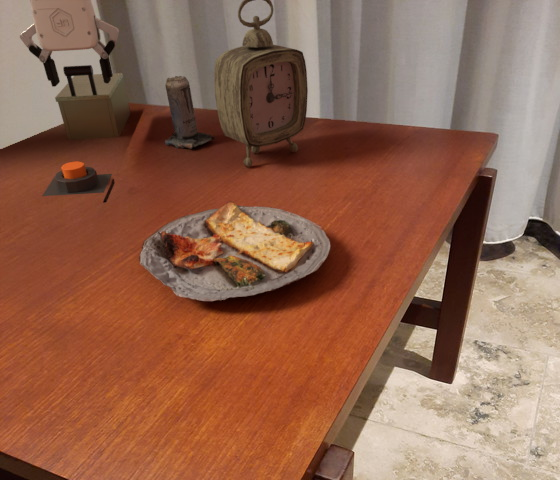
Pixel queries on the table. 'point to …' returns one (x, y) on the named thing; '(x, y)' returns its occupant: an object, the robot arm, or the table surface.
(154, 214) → the table surface
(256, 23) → the tabletop clock
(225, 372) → the table surface
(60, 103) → the machine
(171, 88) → the beverage can
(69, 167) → the button
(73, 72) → the lid
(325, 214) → the table surface
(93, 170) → the panel
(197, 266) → the food plate
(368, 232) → the table surface
